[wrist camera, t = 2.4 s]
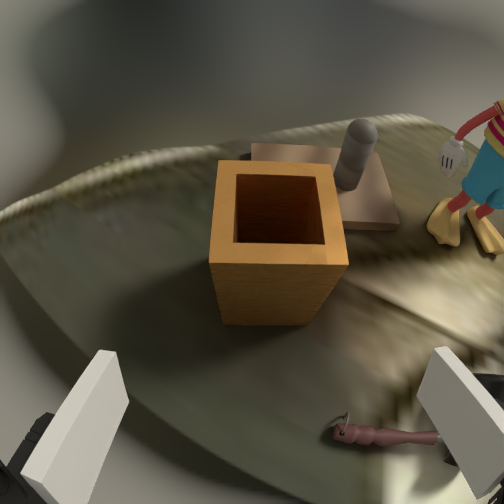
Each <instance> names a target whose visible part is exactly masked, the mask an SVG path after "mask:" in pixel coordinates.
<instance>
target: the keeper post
mask: <svg viewBox="0 0 504 504" xmlns="http://www.w3.org/2000/svg"><path fill="white" fill-rule="evenodd" d="M376 140H377V130H376V128H375V126H374V125H373V124H372V123H371V122H370V121H368V120H366V119H356V120H354V121H353V122H351V123H350V125H349V126H348V129H347V132H346V135H345V139H344V142H343V145H342V148H332V147H320V146H306V145H289V144H265V143H251V161H276V162H298V163H315V164H329V165H331V168H332V172H333V177H334V182H335V187H336V192H337V197H338V202H339V208H340V213H341V219H342V224H343V229H355V230H379V231H396V229H397V228H398V226H399V225H400V221H399V217H398V214H397V210H396V207H395V204H394V200H393V197H392V194H391V191H390V188H389V184H388V181H387V178H386V175H385V172H384V170H383V167H382V164H381V161H380V158H379V155H378V153H377V152H372V150H373V147H374V145H375V142H376Z"/></svg>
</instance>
